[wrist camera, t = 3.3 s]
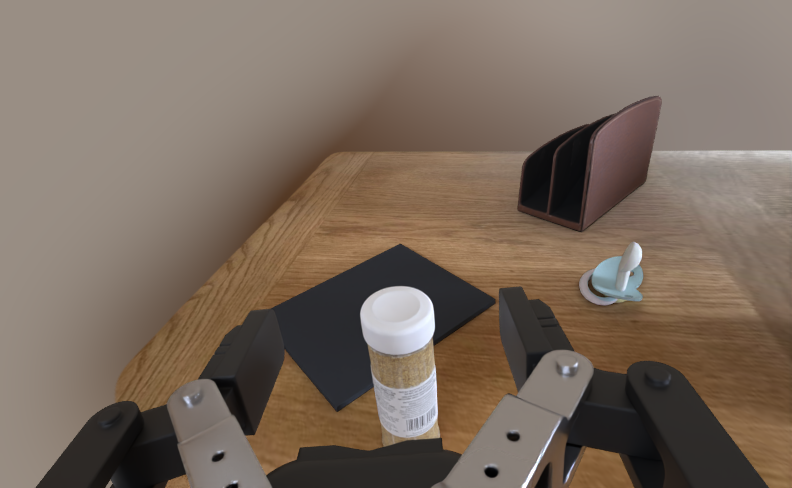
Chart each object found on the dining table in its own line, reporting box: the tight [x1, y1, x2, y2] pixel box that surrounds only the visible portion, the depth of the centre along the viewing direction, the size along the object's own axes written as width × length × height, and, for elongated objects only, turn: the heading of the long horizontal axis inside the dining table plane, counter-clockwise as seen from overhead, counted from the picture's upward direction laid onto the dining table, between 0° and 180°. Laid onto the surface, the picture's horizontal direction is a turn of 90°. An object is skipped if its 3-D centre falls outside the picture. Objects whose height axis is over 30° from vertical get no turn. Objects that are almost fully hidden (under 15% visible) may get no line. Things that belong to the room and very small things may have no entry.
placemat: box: [271, 244, 495, 412], centre depth 46 cm, size 20×16×1 cm
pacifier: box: [579, 242, 643, 305], centre depth 45 cm, size 7×6×6 cm
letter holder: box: [518, 96, 662, 232], centre depth 61 cm, size 10×20×14 cm, turn 133°
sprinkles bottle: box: [360, 286, 440, 447], centre depth 30 cm, size 5×5×13 cm
